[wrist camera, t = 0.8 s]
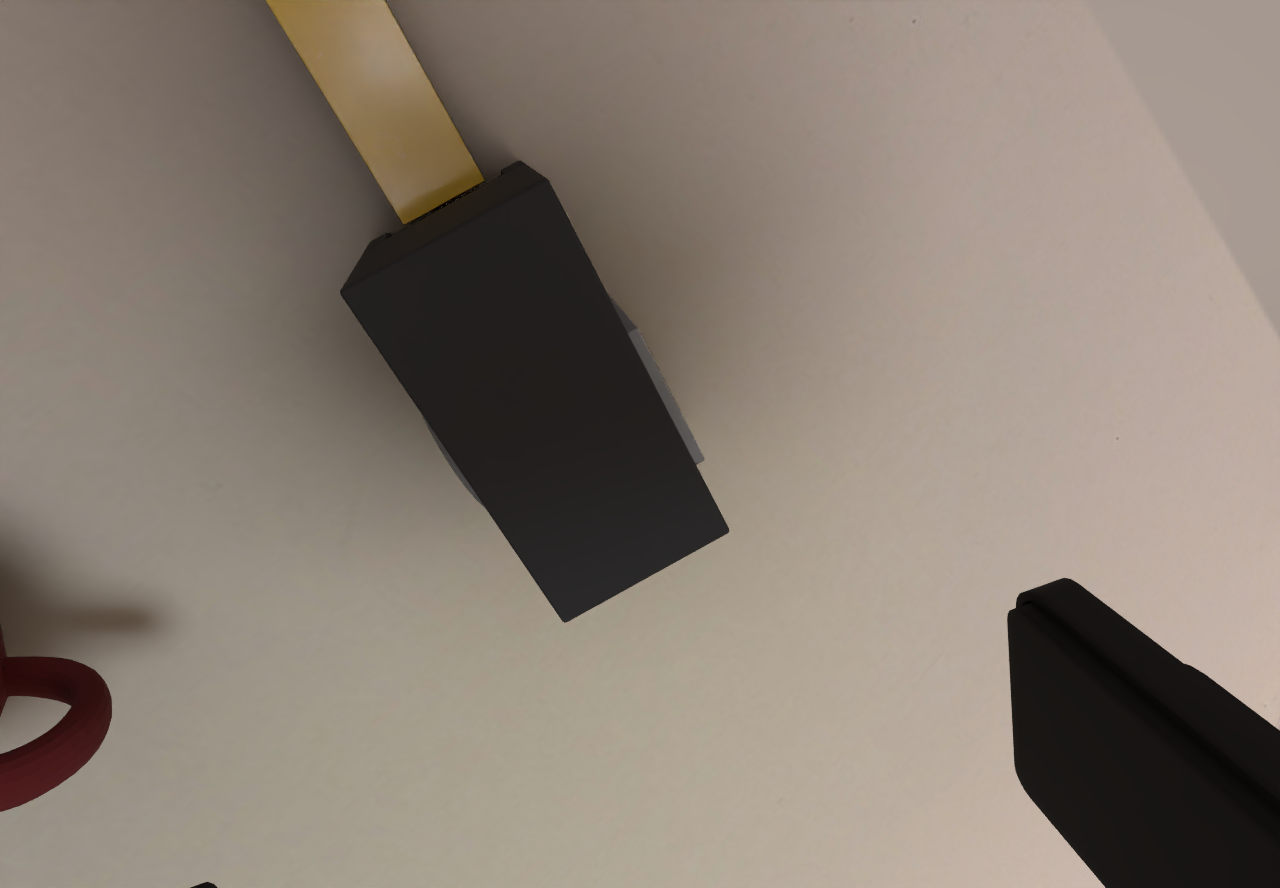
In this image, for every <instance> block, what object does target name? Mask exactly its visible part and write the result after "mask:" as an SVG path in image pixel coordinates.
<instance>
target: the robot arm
mask: <svg viewBox="0 0 1280 888" xmlns="http://www.w3.org/2000/svg"><path fill="white" fill-rule="evenodd" d="M1007 623H1008V643H1009V663H1010V683H1011V703H1012V723H1013V744H1014V764H1015V770H1016V773H1017V776H1018V778H1019V780H1020V782H1021V785H1022V786H1023V788H1024V790H1025V791H1026V793H1027V794H1028V795H1029V797H1030V798H1031V799H1032V801H1033V802H1034V803H1035V804H1036V805H1037V806H1038V808H1039V809H1040V810H1041V811H1042V812H1043V814H1044V815H1045V816H1046V817H1047V818H1048V820H1049V821H1050V822H1051V823H1052V824H1053V825H1054V827H1055V828H1056V829H1057V830H1058V831H1059V833H1060V834H1061V835H1062V836H1063V837H1064V839H1065V840H1066V841H1067V842H1068V843H1069V845H1070V846H1071V847H1072V848H1073V849H1074V850H1075V852H1076V853H1077V854H1078V855H1079V856H1080V858H1081V859H1082V860H1083V861H1084V862H1085V864H1086V865H1087V866H1088V867H1089V868H1090V870H1091V871H1092V872H1093V873H1094V874H1095V875H1096V877H1097V878H1098V879H1099V880H1100V881H1101V883H1102V884H1103V885H1104V886H1105V887H1106V888H1280V731H1279V730H1278V729H1277V728H1276V727H1274V726H1273V725H1272V724H1270V723H1269V722H1268V721H1266V720H1265V719H1264V718H1262V717H1261V716H1260V715H1258V714H1257V713H1256V712H1254V711H1253V710H1252V709H1250V708H1249V707H1248V706H1246V705H1245V704H1244V703H1242V702H1241V701H1240V700H1238V699H1237V698H1236V697H1234V696H1233V695H1232V694H1230V693H1229V692H1228V691H1226V690H1225V689H1224V688H1222V687H1221V686H1220V685H1218V684H1217V683H1216V682H1214V681H1213V680H1212V679H1211V678H1209V677H1208V676H1207V675H1205V674H1204V673H1202V672H1200V671H1199V670H1197V669H1195V668H1194V667H1192V666H1190V665H1187V664H1183V663H1182V662H1181V661H1179V660H1178V659H1177V658H1175V657H1174V656H1173V655H1172V654H1170V653H1169V652H1168V651H1166V650H1165V649H1164V648H1162V647H1161V646H1160V645H1158V644H1157V643H1156V642H1154V641H1153V640H1152V639H1151V638H1149V637H1148V636H1147V635H1145V634H1144V633H1143V632H1141V631H1140V630H1139V629H1137V628H1136V627H1135V626H1133V625H1132V624H1131V623H1129V622H1128V621H1127V620H1126V619H1124V618H1123V617H1122V616H1120V615H1119V614H1118V613H1116V612H1115V611H1114V610H1112V609H1111V608H1110V607H1108V606H1107V605H1106V604H1105V603H1103V602H1102V601H1101V600H1099V599H1098V598H1097V597H1095V596H1094V595H1093V594H1091V593H1090V592H1089V591H1087V590H1086V589H1085V588H1084V587H1082V586H1081V585H1080V584H1078V583H1077V582H1075V581H1073V580H1071V579H1067V578H1062V579H1059V580H1056V581H1054V582H1051V583H1048V584H1045V585H1042V586H1040V587H1037V588H1034V589H1031V590H1028V591H1025V592H1023V593H1020V594H1019V596H1018V597H1017V601H1016V608H1015V609H1012V610H1010V611H1009V613H1008V618H1007ZM191 888H217V887H216V886H215V885H214V884H212V883H209V882H205V883H202V884H199V885H196V886H194V887H191Z"/></svg>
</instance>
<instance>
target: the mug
mask: <svg viewBox="0 0 1280 888" xmlns="http://www.w3.org/2000/svg"><path fill="white" fill-rule="evenodd" d="M9 696H31V697H40V698H47V699H52V700H57V701H61V702H64V703H67V704H69V705H71V706H72V707H71V708H70V710H69V711H68V712H67V714H66V715H65V716H64V717H63V718H62V719H61V721H60V722H59V723H58V724H57V725H55V726H54V727H53V728H52V729H50V730H49V731H48V732H46V733H45V734H43V735H42V736H40V737H38V738H37V739H35V740H33V741H31V742H29V743H27V744H25V745H23V746H21V747H19V748H16V749H14V750H11V751H9V752H6V753H2V754H0V812H1V811H5V810H8V809H11V808H14V807H17V806H20V805H22V804H25V803H27V802H29V801H31V800H33V799H35V798H38V797H39V796H41V795H43V794H44V793H46V792H48V791H50V790H51V789H53V788H55V787H56V786H58V785H59V784H61V783H62V782H64V781H65V780H66V779H68V778H69V777H71V776H72V775H73V774H75V773H76V772H77V771H78V770H79V769H80V768H81V767H82V766H84V765H85V764H86V763H87V762H88V761H89V760H90V759H91V757H92V756H93V755H94V754H95V752H96V751H97V750H98V749H99V747H100V745H101V743H102V742H103V740H104V738H105V736H106V734H107V731H108V729H109V725H110V722H111V718H112V700H111V695H110V692H109V689H108V687H107V685H106V683H105V681H104V680H103V679H102V677H101V676H100V675H99V674H98V673H97V672H96V671H95V670H93V669H92V668H90V667H88V666H86V665H84V664H82V663H79V662H76V661H73V660H69V659H63V658H55V657H6V651H5V646H4V641H3V635H2V630H1V625H0V716H1V713H2V711H3V708H4V706H5V703H6V701H7V698H8V697H9Z"/></svg>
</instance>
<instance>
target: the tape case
mask: <svg viewBox="0 0 1280 888" xmlns="http://www.w3.org/2000/svg"><path fill="white" fill-rule="evenodd" d="M501 175H502V176H500V177H498V178H497V179H495V180H493V181H491V182H489V183H487V184H486V185H484V186H482V187H480V188H478V189H477V190H475V191H473V192H471V193H469V194H467V195H466V196H464V197H462V198H460V199H458V200H456V201H455V202H453V203H451V204H449V205H447V206H446V207H444V208H442V209H440V210H438V211H436V212H435V213H433V214H431V215H429V216H427V217H425V218H424V219H422V220H420V221H418V222H416V223H415V224H413V225H411V226H409V227H407V228H405V229H404V230H402V231H400V232H398V233H396V234H394V235H393V236H392V235H391V234H390V233H386V234H384V235H382V236H380V237H379V238H377V239H375V240H373V241H371V242H370V243H369V245H368V246H367V248H366V250H365V251H364V253H363V255H362V256H361V258H360V260H359V261H358V263H357V264H356V266H355V268H354V269H353V271H352V273H351V274H350V276H349V277H348V279H347V281H346V282H345V284H344V285H343V287H342V289H341V290H340V294H341V296H342V297H343V299H344V300H345V302H346V303H347V305H348V306H349V308H350V309H351V311H352V312H353V314H354V315H355V317H356V318H357V319H358V321H359V322H360V324H361V325H362V327H363V328H364V330H365V331H366V333H367V334H368V336H369V337H370V339H371V340H372V342H373V343H374V345H375V346H376V347H377V349H378V350H379V352H380V353H381V355H382V356H383V358H384V359H385V361H386V362H387V364H388V365H389V367H390V368H391V370H392V371H393V372H394V374H395V375H396V377H397V378H398V380H399V381H400V383H401V384H402V386H403V387H404V389H405V390H406V392H407V393H408V395H409V396H410V398H411V399H412V400H413V402H414V403H415V405H416V406H417V408H418V409H419V411H420V412H421V414H422V416H423V418H424V420H425V422H426V424H427V426H428V428H429V430H430V432H431V434H432V436H433V438H434V440H435V441H436V443H437V445H438V447H439V448H440V450H441V452H442V453H443V455H444V457H445V458H446V460H447V461H448V463H449V464H450V466H451V467H452V469H453V470H454V472H455V473H456V475H457V476H458V478H459V479H460V480H461V482H462V483H463V484H464V486H465V487H466V488H467V489H468V491H469V492H470V493H471V494H472V495H473V497H474V498H475V499H476V500H477V501H478V502H479V503H480V504H481V505H483V506H484V507H485V508H486V509H487V511H488V512H489V514H490V515H491V517H492V518H493V520H494V521H495V523H496V524H497V526H498V527H499V529H500V530H501V532H502V533H503V534H504V536H505V537H506V539H507V540H508V542H509V543H510V545H511V546H512V548H513V549H514V551H515V552H516V554H517V555H518V557H519V558H520V559H521V561H522V562H523V564H524V565H525V567H526V568H527V570H528V571H529V573H530V574H531V576H532V577H533V579H534V580H535V582H536V583H537V585H538V586H539V587H540V589H541V590H542V592H543V593H544V595H545V596H546V598H547V599H548V601H549V602H550V604H551V605H552V607H553V608H554V610H555V611H556V612H557V614H558V615H559V617H560V618H561V620H562V621H563V622H564V623H565V622H568V621H570V620H572V619H574V618H575V617H577V616H579V615H581V614H583V613H584V612H586V611H588V610H590V609H592V608H593V607H595V606H597V605H599V604H601V603H602V602H604V601H606V600H608V599H610V598H611V597H613V596H615V595H617V594H619V593H621V592H622V591H624V590H626V589H628V588H630V587H631V586H633V585H635V584H637V583H639V582H640V581H642V580H644V579H646V578H648V577H649V576H651V575H653V574H655V573H657V572H658V571H660V570H662V569H664V568H666V567H668V566H669V565H671V564H673V563H675V562H677V561H678V560H680V559H682V558H684V557H686V556H687V555H689V554H691V553H693V552H695V551H696V550H698V549H700V548H702V547H704V546H706V545H707V544H709V543H711V542H713V541H715V540H716V539H718V538H720V537H722V536H724V535H725V534H727V533H728V532H729V528H728V526H727V524H726V522H725V520H724V518H723V516H722V514H721V512H720V511H719V509H718V507H717V505H716V503H715V501H714V499H713V497H712V495H711V493H710V491H709V489H708V487H707V485H706V484H705V482H704V480H703V478H702V476H701V474H700V472H699V470H698V468H697V466H696V464H698V463H700V462H702V461H704V457H703V455H702V453H701V451H700V449H699V447H698V445H697V443H696V441H695V439H694V437H693V435H692V433H691V431H690V429H689V427H688V425H687V423H686V421H685V419H684V417H683V415H682V413H681V411H680V410H679V408H678V406H677V404H676V402H675V400H674V398H673V396H672V394H671V392H670V390H669V388H668V386H667V384H666V382H665V380H664V378H663V376H662V374H661V372H660V370H659V368H658V366H657V364H656V362H655V360H654V359H653V357H652V355H651V353H650V351H649V349H648V347H647V345H646V343H645V341H644V339H643V337H642V335H641V333H640V331H639V329H638V328H637V326H636V325H635V324H634V323H633V322H632V321H631V320H630V318H629V317H628V316H627V315H626V314H625V313H624V311H623V310H622V309H621V308H620V307H619V306H618V305H617V303H616V302H615V301H614V300H613V299H612V298H611V296H610V295H609V294H608V293H607V292H606V290H605V288H604V286H603V285H602V283H601V281H600V279H599V277H598V275H597V273H596V271H595V269H594V267H593V265H592V263H591V261H590V259H589V257H588V256H587V254H586V252H585V250H584V248H583V246H582V244H581V242H580V240H579V238H578V236H577V234H576V232H575V230H574V228H573V227H572V225H571V223H570V221H569V219H568V217H567V215H566V213H565V211H564V209H563V207H562V205H561V203H560V201H559V200H558V198H557V196H556V194H555V192H554V190H553V188H552V186H551V184H550V182H549V180H548V179H546V178H545V177H544V176H542V175H541V174H539V173H538V172H536V171H535V170H533V169H532V168H530V167H529V166H528V165H526V164H525V163H523V162H522V161H517V162H515V163H513V164H512V165H510V166H508V167H506V168H504V169H503V170H502V171H501Z"/></svg>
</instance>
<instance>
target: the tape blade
mask: <svg viewBox="0 0 1280 888" xmlns="http://www.w3.org/2000/svg"><path fill="white" fill-rule="evenodd" d="M266 2H267V4H268V5H269V7H270V8H271V10H272V12H273V13H274V15H275V17H276V18H277V20H278V21H279V23H280V25H281V26H282V28H283V30H284V31H285V33H286V34H287V36H288V38H289V39H290V41H291V43H292V44H293V46H294V47H295V49H296V51H297V52H298V54H299V56H300V57H301V59H302V60H303V62H304V64H305V65H306V67H307V69H308V70H309V72H310V73H311V75H312V77H313V78H314V80H315V82H316V83H317V85H318V86H319V88H320V90H321V91H322V93H323V95H324V96H325V98H326V100H327V101H328V103H329V104H330V106H331V108H332V109H333V111H334V113H335V114H336V116H337V117H338V119H339V121H340V122H341V124H342V126H343V127H344V129H345V130H346V132H347V134H348V135H349V137H350V139H351V140H352V142H353V143H354V145H355V147H356V148H357V150H358V152H359V153H360V155H361V156H362V158H363V160H364V161H365V163H366V165H367V166H368V168H369V169H370V171H371V173H372V174H373V176H374V178H375V179H376V181H377V182H378V184H379V186H380V187H381V189H382V191H383V192H384V194H385V195H386V197H387V199H388V200H389V202H390V204H391V205H392V207H393V208H394V210H395V212H396V213H397V215H398V217H399V218H400V220H401V221H402V223H403V225H405V224H407V223H409V222H411V221H413V220H414V219H416V218H418V217H420V216H422V215H424V214H425V213H427V212H429V211H431V210H433V209H434V208H436V207H438V206H440V205H442V204H444V203H445V202H447V201H449V200H451V199H453V198H455V197H456V196H458V195H460V194H462V193H464V192H465V191H467V190H469V189H471V188H473V187H475V186H476V185H478V184H480V183H482V182H484V181H485V180H484V178H483V176H482V174H481V173H480V171H479V169H478V167H477V165H476V164H475V162H474V160H473V158H472V156H471V155H470V153H469V151H468V149H467V147H466V146H465V144H464V142H463V140H462V138H461V137H460V135H459V133H458V131H457V129H456V127H455V126H454V124H453V122H452V120H451V118H450V117H449V115H448V113H447V111H446V109H445V108H444V106H443V104H442V102H441V100H440V99H439V97H438V95H437V93H436V91H435V90H434V88H433V86H432V84H431V82H430V81H429V79H428V77H427V75H426V73H425V71H424V70H423V68H422V66H421V64H420V62H419V61H418V59H417V57H416V55H415V53H414V52H413V50H412V48H411V46H410V44H409V43H408V41H407V39H406V37H405V35H404V34H403V32H402V30H401V28H400V26H399V25H398V23H397V21H396V19H395V17H394V16H393V14H392V12H391V10H390V8H389V6H388V5H387V3H386V1H385V0H266Z"/></svg>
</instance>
